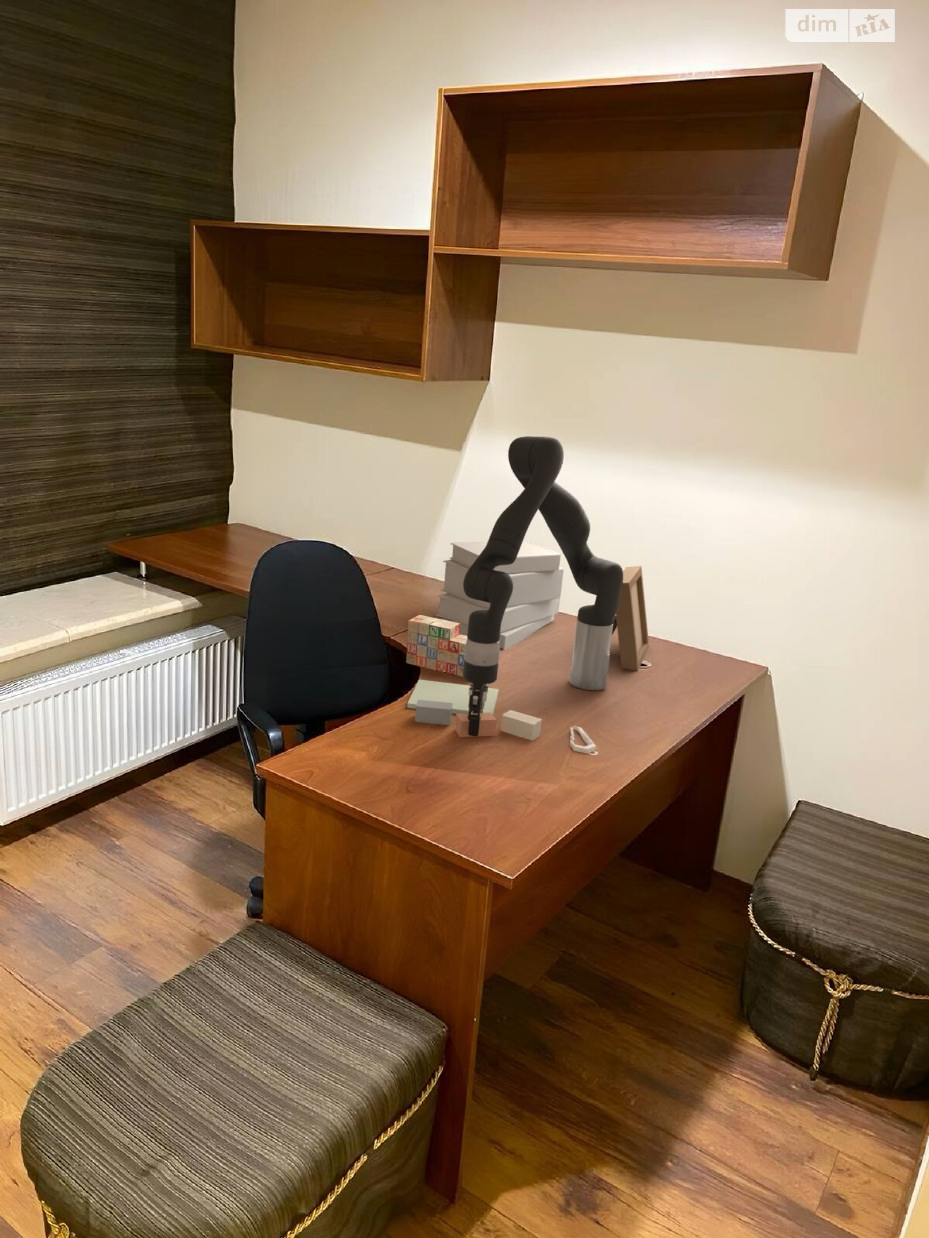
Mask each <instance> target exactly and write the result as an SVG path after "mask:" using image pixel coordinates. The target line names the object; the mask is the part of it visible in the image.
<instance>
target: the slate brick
mask: <svg viewBox="0 0 929 1238" xmlns="http://www.w3.org/2000/svg"><path fill="white" fill-rule="evenodd" d="M452 706H453V703H447V702H437V701H427V700H418V701H417V704H416V709H415V712H414V714H415V715H414V722H415V723H423V724H433V725H443V726H451V722H452V716H453V714H452Z"/></svg>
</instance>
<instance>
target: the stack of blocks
mask: <svg viewBox="0 0 929 1238" xmlns="http://www.w3.org/2000/svg"><path fill="white" fill-rule="evenodd" d="M407 622H408V626H407V640H406V641H407V642H406V643H407V644H406V659H405V663H407V664H410V665H412V666H413V665H414V666H417V667H419V668H424V667H425V668H424V669H427V668H428V670H431V669H433V670H432V671H435V670H438V671H437V672H440V671H445V672H448V673H451V674H450V675H452V674H456V675H455V676H457V675H458V676H457V677H460V676H461V677H460V678H463V667H464V655H465V646H466V641H467V636H465V635H459V633H460V623H456V622H451V621H447V620H442V618H436V617H431V616H427V615H423V614H422V615H421V614H419V615H417V616H414V617H412V618H411V619H408V621H407ZM429 668H430V669H429ZM448 673H447V674H448Z"/></svg>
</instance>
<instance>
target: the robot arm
mask: <svg viewBox="0 0 929 1238" xmlns="http://www.w3.org/2000/svg"><path fill="white" fill-rule="evenodd" d="M507 453H508V454H507V457H508V463H509V466H510V469H511V471H512V473H513V475H514V476H515V478H516V479H517V481H518V482H519V483H520V484H521V485H522V487H523V488H524V489H523V490H522V491H521V493H520V494H519V495H518V496H516V498H515V499H514V500H513V501H512V502H511V503H510V504H509V505H508V506H507V507H506V508H505V509H504V510H503V511H502V513H501V514H500V515H499V517H498V518H497V520H496V521H495V522H494V526H493V528H492V530H491V533H490V535H489V538H488V540H487V541H488V542H487V545H486V547H485V548H484V550H483V551H482V552H481V554H480V555H479V556H478V558H477V559H476V560H475V562H474V563H473V564H472V566H471V567H470V568H469V570H468V571H467V573H466V575H465V578H464V582H463V589H464V592H465V594H466V595H467V596H468V597H469V598H471V599H475V600H480V601H484V602H488V603H490V608H489V609H488V610H477V611H474V612H472V613H471V614H470V616H469V623H468V634H467V641H466V646H465V655H464V667H463V677H462V678H463V679H464V680H465V681H467V682H468V683H469V682H470V685H469V686H470V688H469V703H468V708H469V713H468V720H469V730H468V734H469V735H470V736H475V737H479V736H478V733H479V723H480V719H481V713H483V710H484V706H485V701H486V699H487V693H488V688H489V684H493V683H495V682H496V681H497V679H498V672H499V662H500V661H499V660H500V652H501V648H500V646H499V640H500V630H501V622H502V619H503V616H504V613H505V610H506V607H507V604H508V602H509V600H510V597H511V595H512V592H513V582H512V579H511V577H510V576H509V574H507V573H505V572H501V571H496V570H493V569H494V568H495V567H497V566H500V565H510V564H512V563H514V561H515V560H516V558H517V555H518V552H519V550H520V547H521V545H522V542H523V540H525V537H526V534H527V532H528V529H529V528H530V525H531V523H532V521H533V519H534V518H535V515H536V513H537V512H538V511H539V513H540V514H541V516H542V517H543V520H544V521H545V523H546V526H547V527H548V530H549V532H551V534H552V536H553V538H554V539H555V541H556V543H557V544H558V546H559V548H560V550H561V552H562V554H563V555H564V557H565V559H566V562H567V564H568V567H569V569H570V571H571V574H572V577H573V579H574V582H575V584H576V585H577V587H578V588H579V589H580V590H581V591H583V592H585V593H588V594H591V595H594V596H595V600H594V604H588V605H583V606H581V607H580V608H579V609H578V611H577V618H576V626H575V627H576V628H575V635H574V643H573V649H572V659H571V669H570V673H569V683H570V685H572V686H574V687H575V688H578V689H582V690H586V691H598V690H603V691H604V690H606V688H607V680H608V672H609V665H610V657H611V654H610V652H611V645H612V644H611V643H612V637H613V635H612V630H613V623H614V618H615V616H616V613H617V610H618V606H619V600H620V595H621V590H622V584H623V571H624V569H623V568H622V565H620V564H619V563H617V562H615V561H611V560H608V559H604V558H601V557H597V556H596V555H594V554H593V552H592V551H591V548H590V546H589V545H588V543H587V542H588V539H589V537H590V534H591V523H590V519H589V517H588V516H587V513H586V511H585V509H584V508H583V506H582V504H581V503H580V501H579V500H578V498H576V496H574V495H573V494H572V493H571V492H570V491H568V490H567V489H565V488H564V487H562V486H561V485H560V484H558V483H557V482H556V480H557V477H558V476H559V474H560V472H561V470H562V466H563V463H564V458H565V457H564V456H565V451H564V447H563V445H562V443H561V441H560V440H559V439H557V438H555V437H550V436H532V435H531V436H521V437H520V436H519V437H517V438H515V439H514V440H512V442H510V445H509V447H508V451H507ZM472 711H473V713H478V715H473V714H472Z"/></svg>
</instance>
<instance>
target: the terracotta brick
mask: <svg viewBox="0 0 929 1238" xmlns="http://www.w3.org/2000/svg"><path fill="white" fill-rule="evenodd" d="M472 714H473V715H478V713H472ZM455 715H456V716H455V726H454V731H455V733H457V735H458V736H459V737H460V738H470V737H471V738H472V737H476V736H470V735H469V734H468V730H469V720H468V713H467V714H455ZM496 723H497V719H496V718H495V716H494V714H493V715H492V714H491V713H481V719H480V723H479V733H478V736H477V737H494V736H495V732H496V725H497V724H496Z"/></svg>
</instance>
